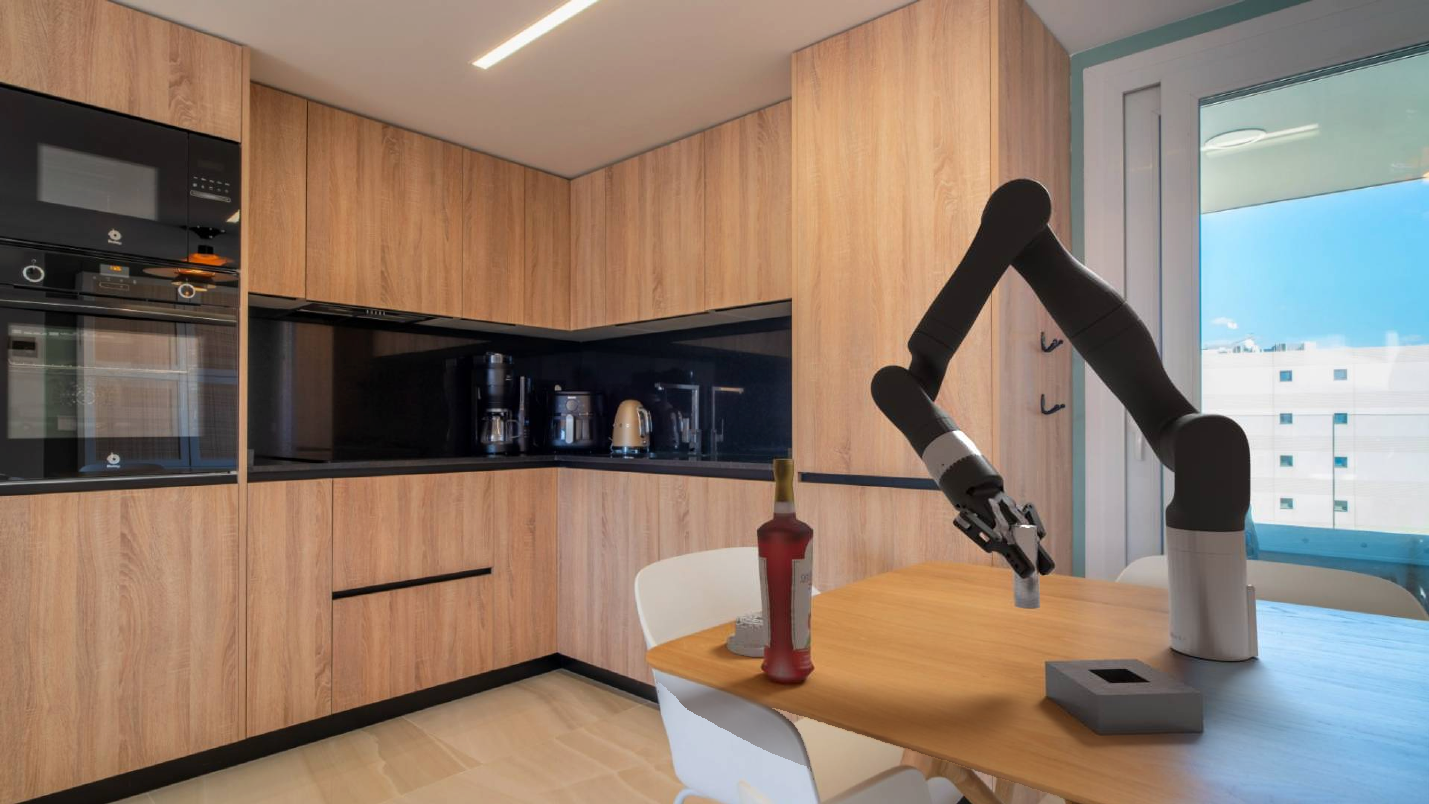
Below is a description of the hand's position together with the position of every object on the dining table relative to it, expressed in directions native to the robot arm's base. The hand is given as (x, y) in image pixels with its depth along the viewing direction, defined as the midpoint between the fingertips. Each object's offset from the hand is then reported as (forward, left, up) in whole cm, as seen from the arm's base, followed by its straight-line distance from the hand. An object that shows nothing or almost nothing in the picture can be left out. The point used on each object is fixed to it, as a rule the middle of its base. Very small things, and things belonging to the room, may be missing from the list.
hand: (1039, 572), depth 89 cm
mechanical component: (+33, -18, -14) cm, 40 cm away
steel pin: (+1, -2, -4) cm, 5 cm away
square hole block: (-4, +9, -14) cm, 17 cm away
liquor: (+31, -5, -14) cm, 34 cm away
